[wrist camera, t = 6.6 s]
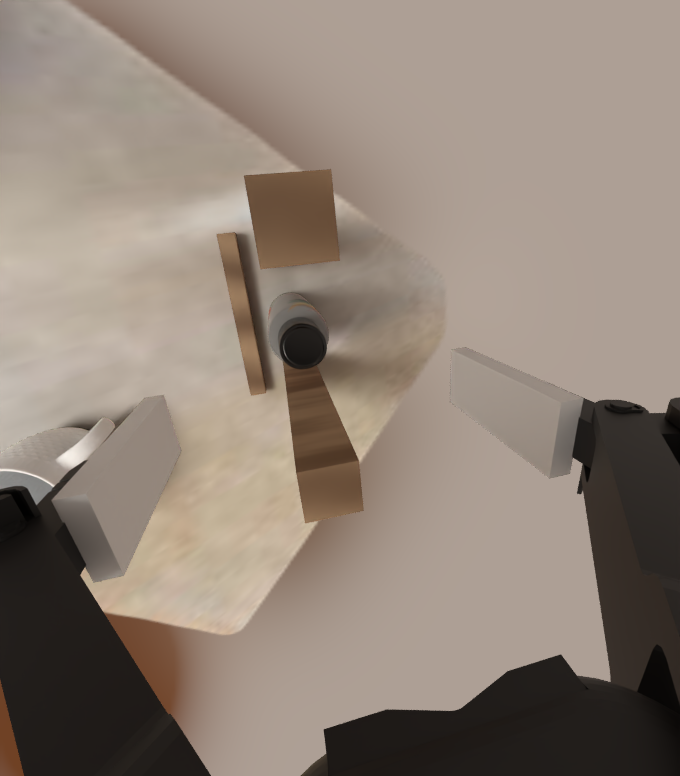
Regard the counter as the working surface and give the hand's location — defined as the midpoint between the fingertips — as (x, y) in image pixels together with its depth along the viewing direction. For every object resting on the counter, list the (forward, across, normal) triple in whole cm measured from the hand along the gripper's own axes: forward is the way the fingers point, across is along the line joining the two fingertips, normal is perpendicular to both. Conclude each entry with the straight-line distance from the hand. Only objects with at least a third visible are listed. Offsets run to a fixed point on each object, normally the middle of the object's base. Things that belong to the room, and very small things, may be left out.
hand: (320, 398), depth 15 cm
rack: (+32, -2, 0) cm, 32 cm away
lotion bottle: (+32, 0, -1) cm, 32 cm away
